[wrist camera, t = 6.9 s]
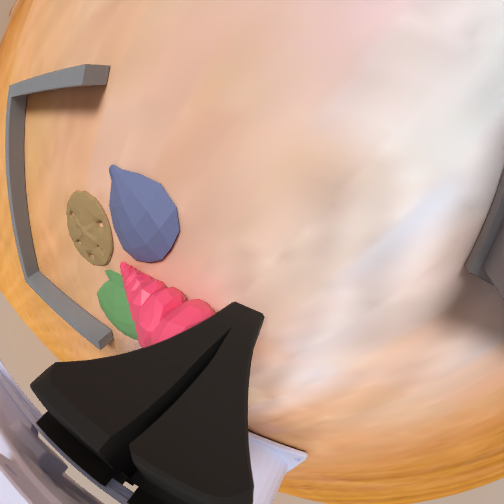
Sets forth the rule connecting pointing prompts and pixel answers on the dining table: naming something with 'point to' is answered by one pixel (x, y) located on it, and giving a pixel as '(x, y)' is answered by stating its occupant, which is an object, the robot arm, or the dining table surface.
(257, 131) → the dining table surface
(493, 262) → the dome base
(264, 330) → the dining table surface
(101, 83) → the frame
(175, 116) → the dining table surface
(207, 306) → the toy pieces
